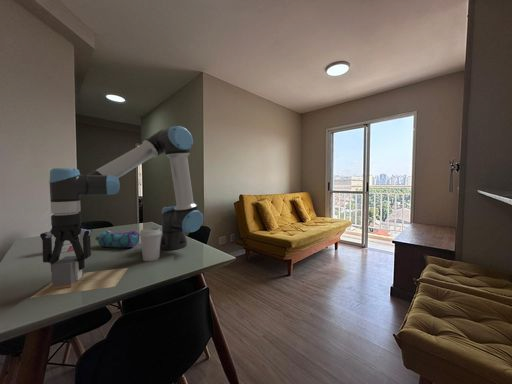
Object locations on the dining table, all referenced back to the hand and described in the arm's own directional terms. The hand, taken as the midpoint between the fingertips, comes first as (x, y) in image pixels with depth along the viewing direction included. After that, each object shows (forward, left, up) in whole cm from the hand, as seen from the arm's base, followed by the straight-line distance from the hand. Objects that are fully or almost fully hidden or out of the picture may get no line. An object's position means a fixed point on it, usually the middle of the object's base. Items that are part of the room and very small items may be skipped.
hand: (68, 279), depth 71 cm
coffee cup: (-23, -17, -3) cm, 29 cm away
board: (-5, 0, -3) cm, 6 cm away
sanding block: (0, 0, -1) cm, 1 cm away
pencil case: (-2, -47, -3) cm, 47 cm away
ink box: (+23, -48, -3) cm, 53 cm away
